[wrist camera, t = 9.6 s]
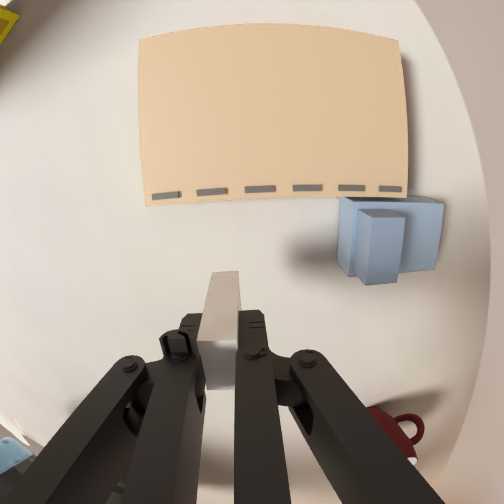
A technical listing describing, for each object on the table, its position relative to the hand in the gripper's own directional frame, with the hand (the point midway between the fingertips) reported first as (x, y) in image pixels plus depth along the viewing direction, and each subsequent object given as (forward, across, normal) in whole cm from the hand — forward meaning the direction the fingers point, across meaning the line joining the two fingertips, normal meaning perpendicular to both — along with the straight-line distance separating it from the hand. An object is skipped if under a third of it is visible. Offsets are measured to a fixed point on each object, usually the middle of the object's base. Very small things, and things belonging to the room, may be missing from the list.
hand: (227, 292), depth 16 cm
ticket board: (+6, +4, +11) cm, 13 cm away
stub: (+6, +12, +2) cm, 14 cm away
